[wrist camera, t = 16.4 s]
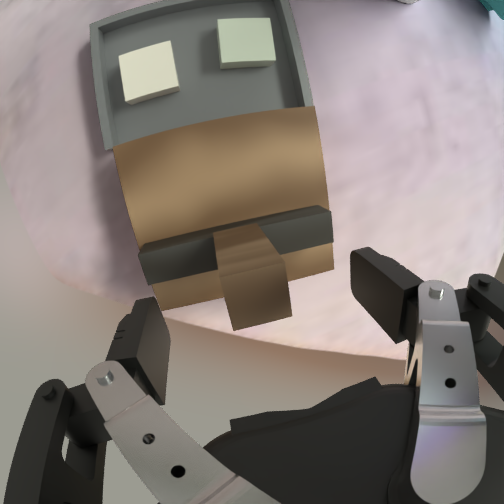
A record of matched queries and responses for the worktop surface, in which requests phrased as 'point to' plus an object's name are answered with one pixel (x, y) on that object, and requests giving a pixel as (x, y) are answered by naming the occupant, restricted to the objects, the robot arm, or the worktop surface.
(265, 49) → the tile
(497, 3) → the radio
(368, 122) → the worktop surface
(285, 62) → the bin
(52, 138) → the worktop surface
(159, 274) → the scraper
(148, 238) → the board
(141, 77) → the tile
